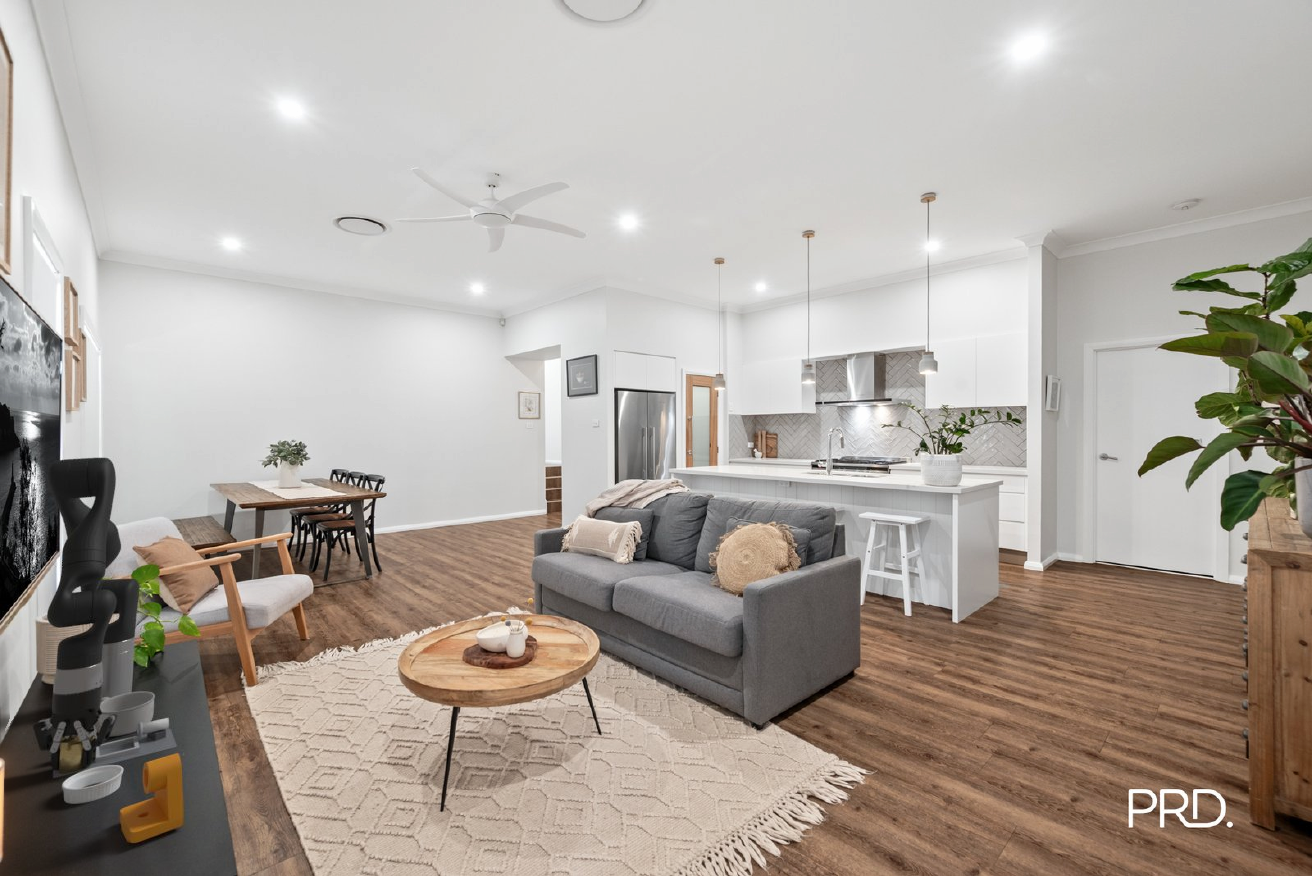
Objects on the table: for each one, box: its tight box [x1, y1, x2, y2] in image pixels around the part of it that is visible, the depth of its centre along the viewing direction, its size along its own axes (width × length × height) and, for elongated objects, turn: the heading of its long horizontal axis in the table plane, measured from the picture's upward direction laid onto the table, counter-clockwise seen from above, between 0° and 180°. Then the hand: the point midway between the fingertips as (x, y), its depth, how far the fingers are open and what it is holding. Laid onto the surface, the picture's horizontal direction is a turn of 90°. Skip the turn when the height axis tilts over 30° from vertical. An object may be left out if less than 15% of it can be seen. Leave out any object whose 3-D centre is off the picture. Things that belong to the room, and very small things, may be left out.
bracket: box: [119, 752, 185, 844], centre depth 110 cm, size 11×7×12 cm, turn 51°
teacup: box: [95, 690, 156, 738], centre depth 145 cm, size 14×11×8 cm
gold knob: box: [59, 731, 88, 774], centre depth 126 cm, size 6×4×7 cm
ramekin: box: [61, 764, 124, 805], centre depth 118 cm, size 9×9×4 cm
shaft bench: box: [52, 717, 178, 779], centre depth 133 cm, size 20×12×6 cm, turn 135°
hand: (73, 766), depth 126 cm, fingers closed on gold knob, 4 cm apart
